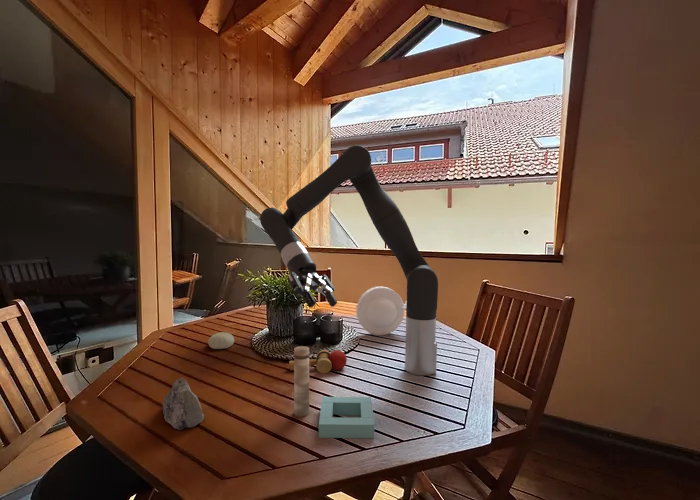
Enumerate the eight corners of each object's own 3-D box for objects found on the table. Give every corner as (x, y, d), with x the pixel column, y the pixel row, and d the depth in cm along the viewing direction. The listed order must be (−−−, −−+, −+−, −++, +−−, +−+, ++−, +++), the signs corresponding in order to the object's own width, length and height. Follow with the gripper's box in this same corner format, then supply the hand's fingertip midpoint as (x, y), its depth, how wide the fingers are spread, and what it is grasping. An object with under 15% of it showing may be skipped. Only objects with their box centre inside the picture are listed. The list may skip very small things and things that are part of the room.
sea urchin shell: (241, 338, 136) (230, 328, 130) (230, 357, 131) (219, 347, 125) (223, 335, 139) (211, 324, 134) (212, 353, 135) (200, 343, 129)
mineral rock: (167, 404, 90) (166, 366, 89) (212, 401, 92) (211, 363, 91) (149, 434, 78) (147, 390, 77) (201, 429, 80) (200, 386, 79)
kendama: (289, 380, 108) (348, 371, 109) (287, 359, 108) (345, 350, 110) (292, 374, 115) (347, 365, 117) (289, 354, 116) (344, 345, 117)
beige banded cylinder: (310, 408, 89) (310, 346, 88) (308, 416, 85) (308, 351, 84) (295, 408, 89) (295, 346, 88) (292, 416, 85) (292, 351, 84)
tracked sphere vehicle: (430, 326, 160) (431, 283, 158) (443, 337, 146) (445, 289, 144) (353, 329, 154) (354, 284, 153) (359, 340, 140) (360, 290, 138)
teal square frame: (370, 408, 89) (371, 397, 89) (374, 438, 77) (374, 424, 77) (322, 408, 89) (322, 396, 89) (318, 437, 77) (318, 424, 77)
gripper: (286, 249, 96) (314, 296, 88) (322, 254, 107) (349, 296, 100) (272, 268, 99) (297, 315, 91) (308, 271, 110) (333, 312, 103)
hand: (324, 305), depth 95 cm, fingers open, 8 cm apart
